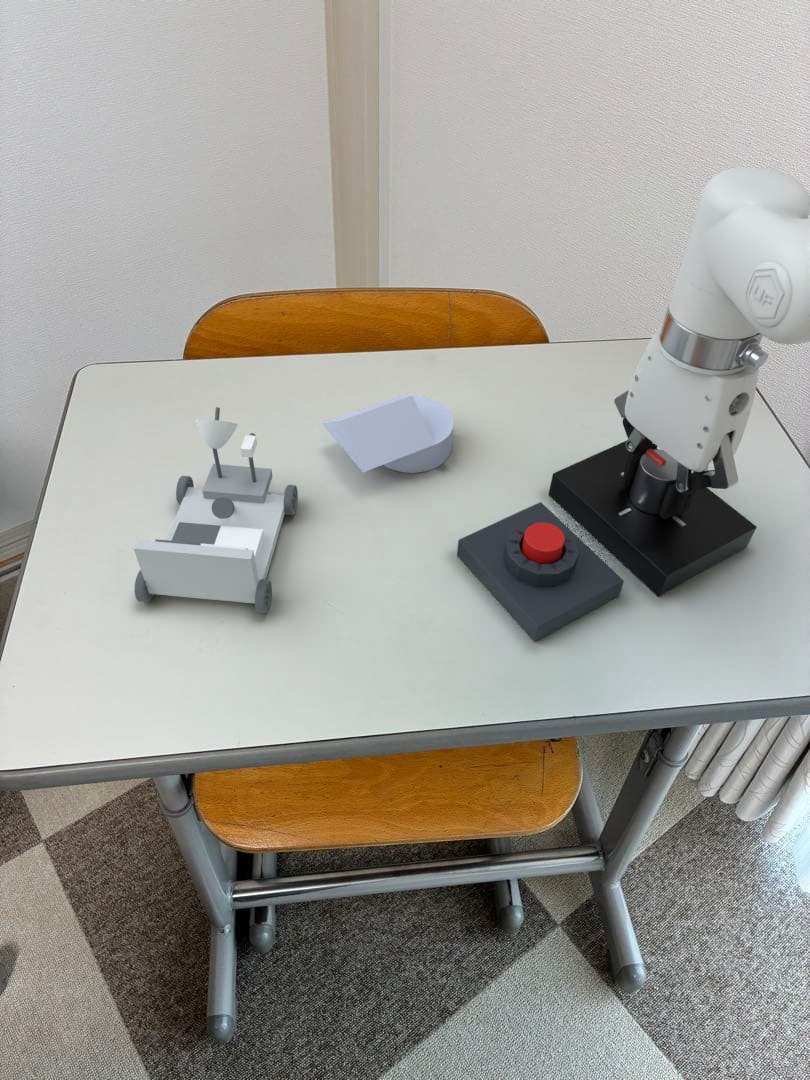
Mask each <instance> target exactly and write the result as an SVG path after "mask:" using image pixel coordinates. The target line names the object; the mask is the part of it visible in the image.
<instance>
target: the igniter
mask: <svg viewBox="0 0 810 1080" xmlns="http://www.w3.org/2000/svg"><path fill="white" fill-rule="evenodd" d="M535 523H549V524H552V525H554V526H556V527H558V528H559V529H560V530H561V531H562V532H563V534H564V537H565V542H564V546H563V550H562V554H561V556H560V558H559V559H558V560H557V561H555V562H553V563H550V564H539V563H536V562H533V561H531V560H529V559H528V558H527V557H526V556H525V554H524V553H523V550H522V545H523V539H524V534H525V531H526V529H527V528H528V527H529V526H531V525H533V524H535ZM456 556H457V557H458V558H459V559H460V560H461V562H462V563H463V564H464V565H465V566H466V567H467V568H468V569H469V570H470V571H471V573H472V574H473V575H474V576H475V578H477V579H478V581H479V582H480V583H481V584H482V585H483V586H484V587H485V588H486V590H487V591H488V592H489V593H490V594H491V595H492V596H493V597H494V598H495V599H496V601H497V602H498V603H499V604H500V605H501V606H502V607H503V608H504V609H505V611H506V612H507V613H508V614H509V615H510V616H511V617H512V619H513V620H514V621H515V622H516V623H517V624H518V625H519V627H521V629H522V630H523V631H524V632H525V633H526V634H527V635H528V636H529V637H530V639H531V640H532V641H533V642H538V641H539V640H541V639H543V638H544V637H547V636H548V635H550V634H552V633H554V632H555V631H557V630H559V629H561V628H563V627H565V626H566V625H568V624H570V623H572V622H574V621H576V620H578V619H580V618H581V617H584V616H585V615H587V614H589V613H590V612H593V611H594V610H596V609H598V608H599V607H602V606H603V605H605V604H607V603H608V602H610V601H613V600H614V599H616V598H618V597H619V596H620V594H621V591H622V589H623V586H624V583H625V580H623V578H622V577H621V576H620V575H618V573H617V572H615V571H614V569H612V568H611V567H610V566H609V565H608V564H607V563H606V562H605V561H604V560H603V559H602V558H601V557H600V556H599V555H597V554H596V553H595V552H594V551H593V550H592V549H591V548H590V547H589V546H588V545H587V544H586V543H585V542H584V541H583V540H582V539H580V538H579V537H578V536H577V535H576V534H575V533H574V531H572V530H571V529H570V528H569V527H568V526H567V525H566V524H565V523H563V521H561V519H560V518H559V517H557V516H556V514H554V513H553V512H552V511H551V510H550V509H549V508H548V507H547V506H546V505H545V504H544V503H543V502H541V501H539V502H537V503H535V504H532V505H530V506H529V507H526V508H525V509H522V510H519V511H518V512H515V513H514V514H511V515H509V516H507V517H505V518H503V519H501V520H498V521H496V522H494V523H492V524H490V525H488V526H485V527H483V528H481V529H479V530H477V531H474V532H473V533H470V534H468V535H465V536H464V537H461V538H459V539H458V540H457V550H456Z"/></svg>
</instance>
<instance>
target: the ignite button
mask: <svg viewBox="0 0 810 1080" xmlns="http://www.w3.org/2000/svg"><path fill="white" fill-rule="evenodd" d="M564 542H565V537H564V534H563V532H562V531H561V530H560V529H559V528H558V527H556V526H554V525H552V524H549V523H535V524H533V525H531V526H529V527H528V528H527V529H526V531H525V534H524V539H523V545H522V550H523V553H524V554H525V556H526V557H527V558H528V559H529V560H531V561H533V562H536V563H539V564H550V563H553V562H555V561H557V560H558V559H559V558H560V556H561V554H562V550H563V546H564Z"/></svg>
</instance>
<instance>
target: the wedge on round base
mask: <svg viewBox="0 0 810 1080" xmlns="http://www.w3.org/2000/svg"><path fill="white" fill-rule="evenodd" d="M321 424H322V426H323V427H324V428H325V429H326V430H327V431H328V433H329V434H330V435H331V436H332V438H334V440H335V441H336V442H337V444H338V445H339V446H340V447H341V448H342V449H343V450H344V452H345V453H346V454H347V455H348V457H349V458H350V459H351V460H352V461H353V462H354V464H355V465H356V466H357V468H359V470H360V471H361V472H362V473H366V472H368V471H370V470H373V469H376V468H378V467H381V466H384V467H386V468H388V469H390V470H392V471H396V472H399V473H400V472H401V473H406V474H407V473H409V474H413V473H415V474H416V473H417V474H418V473H424V472H428V471H431V470H434V469H436V468H438V467H440V466H441V465H443V464H445V462H446V461H447V460H448V459H449V457H450V455H451V453H452V450H453V449H452V448H453V437H454V426H455V420H454V416H453V414H452V412H451V411H450V410H449V408H447V407H446V406H445V405H444V404H442V403H441V402H440V401H437V400H435V399H433V398H430V397H426V396H422V395H414V394H413V395H400V396H395V397H391V398H388V399H385V400H382V401H380V402H376V403H374V404H371V405H368V406H365V407H363V408H360V409H357V410H354V411H351V412H348V413H345V414H342V415H340V416H337V417H334V418H331V419H328V420H325V421H322V422H321Z"/></svg>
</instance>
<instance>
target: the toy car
mask: <svg viewBox="0 0 810 1080" xmlns="http://www.w3.org/2000/svg"><path fill="white" fill-rule="evenodd" d="M220 412H221V407H215V413H214V419H205V418H204V419H203V418H200V419H197V418H196V419H195V424H196V427H197V429H198V431H199V434H200V436H201V438H202V440H203V442H204V443H205V445H206V446H208V447H209V448H210V449H212V453H213V458H214V463H212V465H211V468H210V471H209V473H208V476H207V478H206V481H205V483H204V486H203V487H195V486H194V480H193V477H191V476H190V475H181V476H180V477H179V478H178V480H177V483H176V488H175V497H176V503H177V504H178V505H179V507H178V510H177V512H176V515H175V517H174V520H173V522H172V524H171V527H170V529H169V532H168V533H167V536H166V539H155V540H142V539H137V540H136V542H135V545H134V547H133V551H134V553H135V557H136V560H137V562H138V566H139V568H140V570H139V571H138V573H137V575H136V576H135V583H134V597H135V600H137V601H138V603H139V602H140V603H150V602H151V601H152V599H153V597H154V595H158V596H160V595H161V596H170V597H182V598H191V599H193V598H194V599H203V600H213V601H225V602H234V603H235V602H236V603H245V604H254V609H255V612H256V613H257V614H267V613H268V612H269V610H270V607H271V602H272V595H273V594H272V593H273V587H272V581H271V580H270V579H267V577H268V573H269V571H270V566H271V563H272V559H273V557H274V556H273V555H274V552H275V548H276V545H277V542H278V539H279V535H280V531H281V528H282V524H283V521H284V517H285V516H286V515H287V516H294V515H295V514H296V512H297V508H298V503H299V502H298V501H299V491H298V486H297V485H296V484H287V486H286V487H285V488H284V494H277V493H276V494H275V493H268V492H269V489H270V486H271V483H272V480H273V468H268V467H266V468H265V467H255V461H254V454H255V451H256V448H257V445H258V441H257V436H256V433H254V432H251V433H249V434H245V435H244V438H243V441H242V444H241V446H240V455H241V457H242V458H248V462H249V466H243V465H230V464H221V463H220V459H219V453H218V450H219V449H222V448H223V447H224V446H226V444H227V443H228V442H229V440H230V439H231V438H232V436H233V435H234V433H235V431H236V429H237V428H238V425H239V424H238V423H235V422H231V421H225V420H220Z"/></svg>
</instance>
